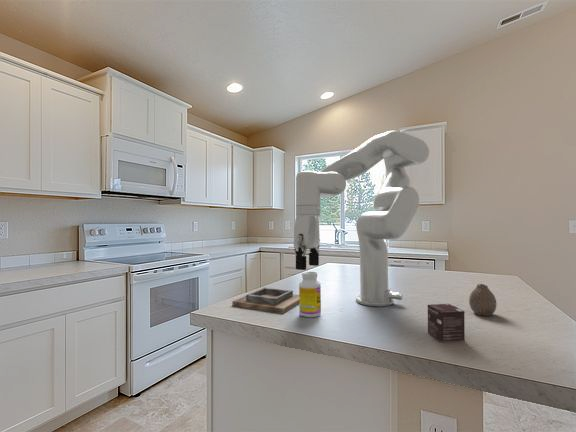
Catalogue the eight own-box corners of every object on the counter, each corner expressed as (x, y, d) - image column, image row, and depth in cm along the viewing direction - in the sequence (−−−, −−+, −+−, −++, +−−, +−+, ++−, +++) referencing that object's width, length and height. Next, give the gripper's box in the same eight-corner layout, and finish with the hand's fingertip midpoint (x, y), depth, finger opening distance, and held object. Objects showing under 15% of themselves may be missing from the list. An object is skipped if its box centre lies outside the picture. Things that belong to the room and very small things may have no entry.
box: (427, 333, 76) (426, 304, 76) (449, 332, 77) (449, 303, 77) (441, 343, 70) (440, 311, 70) (465, 341, 71) (465, 310, 71)
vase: (492, 311, 92) (491, 283, 92) (500, 318, 86) (499, 288, 86) (467, 309, 95) (466, 281, 95) (472, 316, 88) (471, 286, 88)
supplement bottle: (319, 318, 89) (319, 275, 89) (297, 317, 90) (297, 274, 90) (321, 311, 95) (321, 271, 95) (301, 310, 96) (300, 270, 97)
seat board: (305, 299, 109) (305, 290, 109) (283, 313, 94) (283, 302, 94) (259, 294, 118) (259, 285, 118) (232, 305, 103) (232, 295, 103)
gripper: (308, 212, 102) (307, 263, 102) (284, 211, 87) (283, 270, 86) (329, 212, 99) (328, 264, 98) (307, 210, 83) (307, 272, 83)
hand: (307, 267), depth 92 cm, fingers open, 9 cm apart
